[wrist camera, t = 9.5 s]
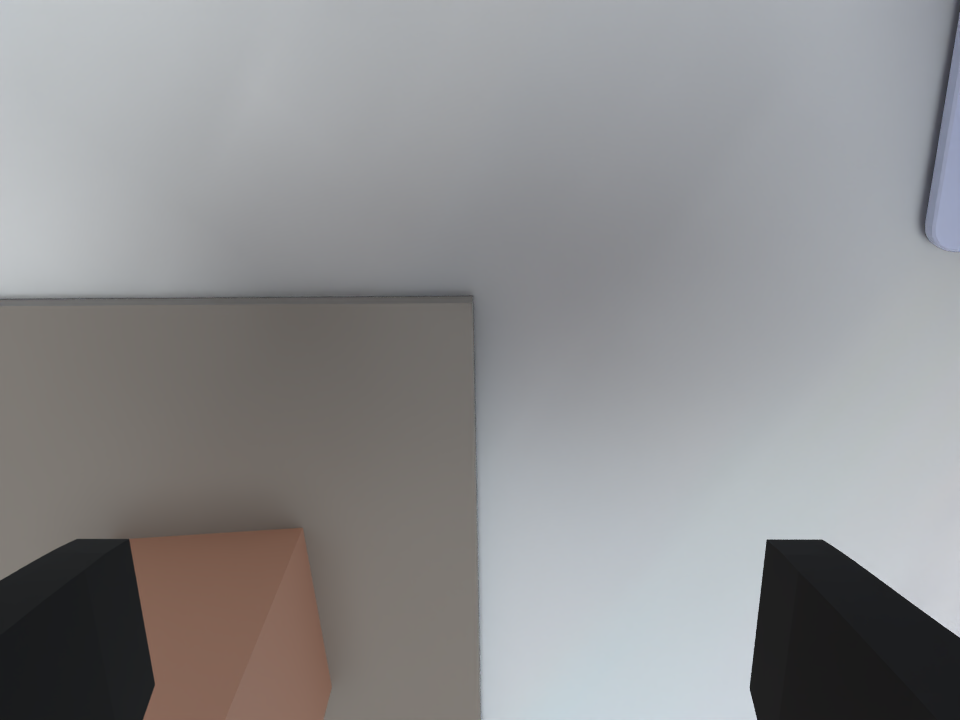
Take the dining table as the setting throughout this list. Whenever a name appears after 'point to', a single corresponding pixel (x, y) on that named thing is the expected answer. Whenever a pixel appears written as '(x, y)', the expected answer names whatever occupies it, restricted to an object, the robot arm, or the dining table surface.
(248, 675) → the terracotta block
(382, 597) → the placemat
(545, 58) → the dining table surface
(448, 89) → the dining table surface
